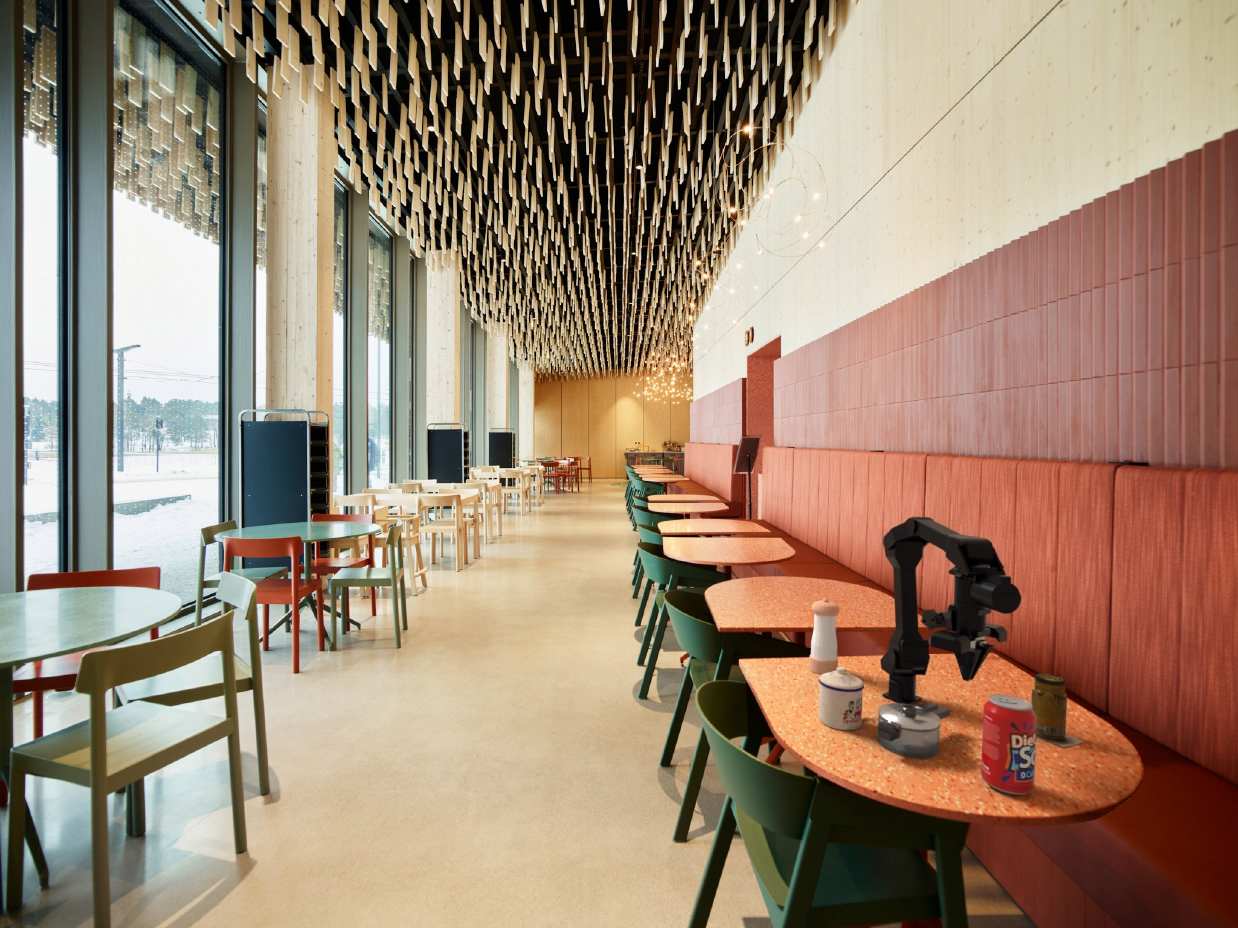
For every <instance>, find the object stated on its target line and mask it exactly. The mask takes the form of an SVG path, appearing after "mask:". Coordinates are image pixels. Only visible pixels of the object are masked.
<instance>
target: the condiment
mask: <svg viewBox="0 0 1238 928" xmlns="http://www.w3.org/2000/svg"><path fill="white" fill-rule="evenodd" d="M1033 683H1034V685H1033V687H1031V699H1030V700H1031V702H1030V703H1031V704H1032V709H1033V711H1034V712H1035V714H1036V716H1037V729H1036V738H1038V739H1041V740H1045V741H1046V742H1049V743H1051V744H1055V745H1058V746H1060V747H1062V748H1067V747H1070V746H1071V747H1072V746H1074V745H1075V746H1076V745H1078V744H1080V743H1083V742H1085V740H1082V739H1080V738H1076V737H1075V736H1071V735H1070V734H1066V733H1067V732H1066V731H1067V729H1066V727H1067V706H1068V695H1067V693H1066V681H1065V680H1064V678H1062V677H1060V676H1056V675H1052V674H1048V673H1036V674H1035V676H1034V682H1033Z"/></svg>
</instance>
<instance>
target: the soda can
mask: <svg viewBox="0 0 1238 928" xmlns="http://www.w3.org/2000/svg"><path fill="white" fill-rule="evenodd" d="M1031 703H1032V702H1029V700H1025V699H1023V698H1020V697H1017V696H1013V695H1008V694H1003V693H1002V694H1000V693H998V694H997V693H995V694H990V695H989V696H988V700H987V701H986V702H984V705H983V710H982V711H983V713H982V714H983V715H982V735H981V736H982V737H981V739H982V740H981V762H980V763H981V764H980V767H981V768H980V777H981V779H982V780H983V781H984V782H985V783H986V784H987V785H989V786H990V787H992V788H993V789H995V790H996V791H999V792H1001V793H1004V794H1007V795H1013V796H1022V795H1027V794H1031V793H1032V792H1034V788H1035V778H1036V777H1035V774H1036V749H1037V746H1036V745H1037V737H1036V729H1037V716H1036V714H1035V712H1034V711H1033V709H1032V704H1031Z"/></svg>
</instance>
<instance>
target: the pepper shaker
mask: <svg viewBox="0 0 1238 928" xmlns="http://www.w3.org/2000/svg"><path fill="white" fill-rule="evenodd" d="M811 611H812V613H814V617H813V618H814V619H813V620H814V621H813V633H812V636H811V641H810V648H811V649H810V655H809V656H808V657H809V660H808V661H809V662H808V663H809V664H808V669H809V671H810V672H812V673H814V674H818V675H822V674H824V673H829V672H832V671H837V667H839V658H838V657H837V655H838V640H837V633H836V632H837V631H836V629H837V628H836V627H837V626H836V625H837V624H836V623H837V616H838V615H839V613H840V608H839V605H838V604H837V603H835V602H833V601H831V600H829V598H827V597H825V598H822V599H820V600H817V601H814V602H813V603H812V604H811Z"/></svg>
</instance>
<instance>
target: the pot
mask: <svg viewBox="0 0 1238 928" xmlns="http://www.w3.org/2000/svg"><path fill="white" fill-rule="evenodd" d="M937 705H938V709H937V710H935V711H933V713H935V714H936V715H937V716H938V717H939V718H940V720H943V719H945V718H948V717H950V715H951V708H949V707H945V706H942V705H940V704H937ZM877 724H878V725H877V742H878V743H879V745H880V746H881V747H882V748H884V749H885V750H887V751H889V752H891V753H893V754H895V755H899V756H902V757H905V758H911V759H919V760H920V759H921V760H925V759H932V758H935V757H937V756H938V755H939V753H940V740H941V739H940V735H941V726H940V727H939V728H938V729H936V730H932V731H914V730H908V729H903V728H900V729H897V727H896V726H893V725H891V724H888V723H886V722H883V720H882V719H881V718H880V717H879V716H878V723H877Z"/></svg>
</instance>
